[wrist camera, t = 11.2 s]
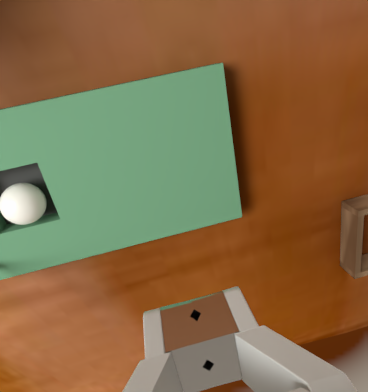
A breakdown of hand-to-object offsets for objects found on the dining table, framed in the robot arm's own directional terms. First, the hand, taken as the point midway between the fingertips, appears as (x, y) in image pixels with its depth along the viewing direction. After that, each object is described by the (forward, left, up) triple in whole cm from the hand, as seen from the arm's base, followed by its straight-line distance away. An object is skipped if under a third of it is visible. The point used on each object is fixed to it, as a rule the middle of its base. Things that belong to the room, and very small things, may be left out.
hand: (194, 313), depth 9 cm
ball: (+13, +2, -22) cm, 25 cm away
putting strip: (+6, +2, -24) cm, 25 cm away
